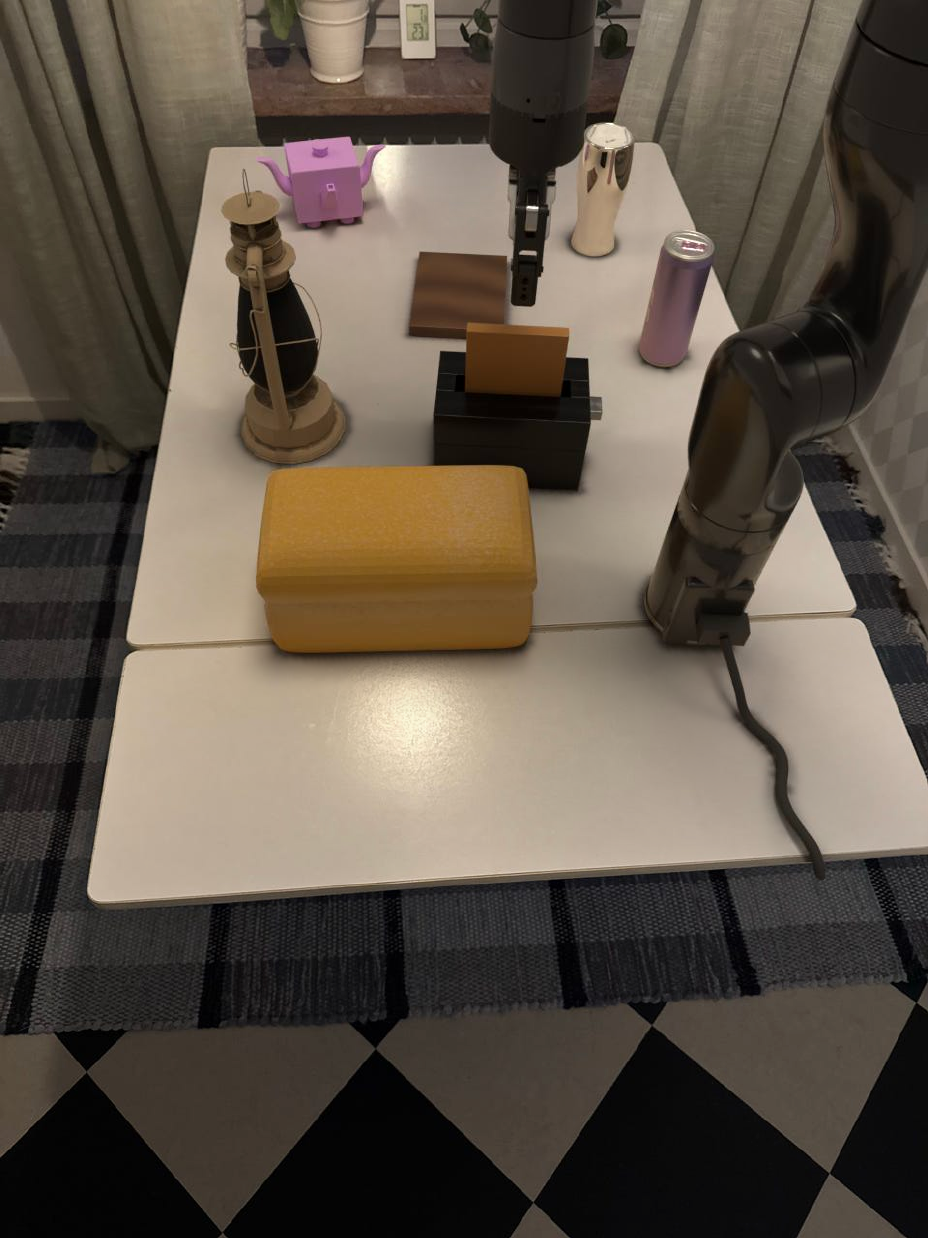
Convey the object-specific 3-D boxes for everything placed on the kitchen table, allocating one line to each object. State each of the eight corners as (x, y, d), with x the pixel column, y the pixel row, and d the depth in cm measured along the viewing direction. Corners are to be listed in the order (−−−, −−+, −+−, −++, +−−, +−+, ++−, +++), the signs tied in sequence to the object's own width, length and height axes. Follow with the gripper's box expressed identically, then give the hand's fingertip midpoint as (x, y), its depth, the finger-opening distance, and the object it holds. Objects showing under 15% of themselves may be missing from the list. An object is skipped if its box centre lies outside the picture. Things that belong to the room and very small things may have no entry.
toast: (556, 421, 92) (569, 336, 83) (464, 416, 92) (466, 331, 83) (556, 412, 93) (569, 327, 84) (465, 407, 93) (467, 322, 84)
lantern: (245, 386, 103) (181, 128, 78) (344, 381, 104) (312, 125, 79) (238, 474, 95) (164, 219, 70) (345, 469, 96) (310, 214, 71)
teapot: (271, 248, 118) (258, 179, 110) (261, 197, 126) (248, 128, 117) (398, 233, 121) (395, 164, 113) (381, 183, 128) (377, 115, 120)
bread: (518, 546, 90) (530, 443, 77) (528, 650, 83) (543, 554, 70) (285, 550, 89) (260, 446, 76) (275, 656, 82) (244, 560, 69)
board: (503, 340, 109) (504, 330, 107) (409, 335, 109) (408, 325, 107) (506, 265, 117) (507, 255, 116) (419, 260, 118) (419, 250, 116)
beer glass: (559, 249, 120) (573, 140, 107) (579, 224, 123) (595, 116, 111) (605, 264, 118) (625, 154, 106) (624, 238, 121) (645, 129, 109)
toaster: (592, 491, 94) (606, 423, 86) (434, 482, 95) (433, 414, 86) (590, 427, 100) (603, 358, 92) (440, 419, 100) (440, 350, 92)
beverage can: (683, 372, 106) (715, 263, 93) (635, 365, 106) (660, 255, 94) (686, 341, 109) (717, 232, 97) (639, 335, 110) (664, 225, 97)
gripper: (494, 40, 69) (485, 228, 82) (487, 130, 61) (479, 322, 74) (587, 44, 69) (563, 232, 82) (592, 136, 61) (565, 326, 74)
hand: (523, 274), depth 78 cm, fingers open, 8 cm apart
